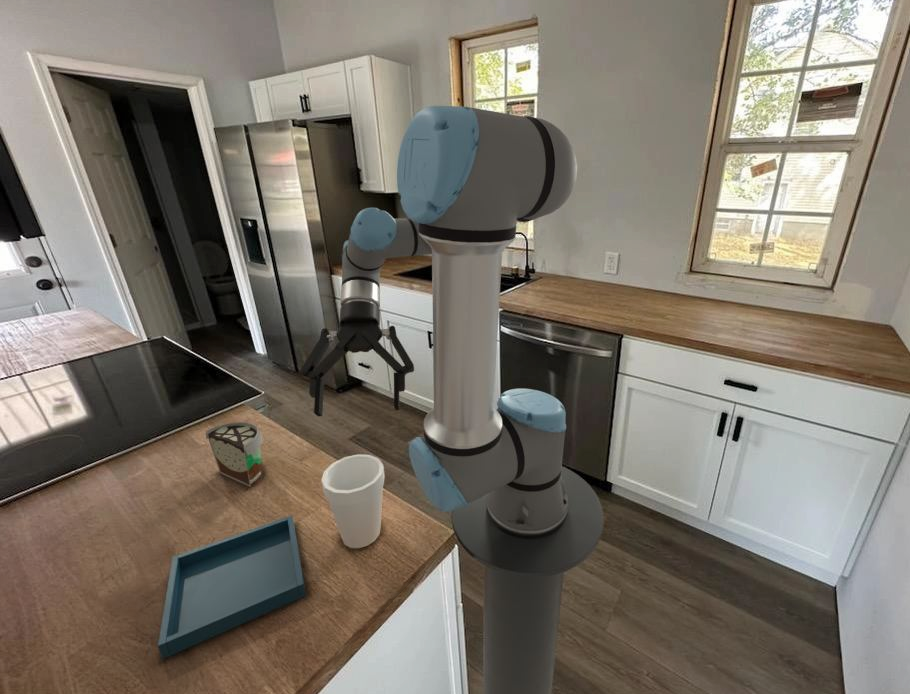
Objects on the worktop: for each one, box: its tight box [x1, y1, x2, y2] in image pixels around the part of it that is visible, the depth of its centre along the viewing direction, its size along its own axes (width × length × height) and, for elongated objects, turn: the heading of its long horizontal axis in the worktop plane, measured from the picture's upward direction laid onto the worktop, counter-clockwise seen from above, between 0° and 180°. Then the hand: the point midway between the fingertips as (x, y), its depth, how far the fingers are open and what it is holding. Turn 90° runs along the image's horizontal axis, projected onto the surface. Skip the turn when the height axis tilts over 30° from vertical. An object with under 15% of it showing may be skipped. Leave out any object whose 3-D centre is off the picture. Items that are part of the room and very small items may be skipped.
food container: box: [205, 421, 264, 488], centre depth 83 cm, size 12×6×10 cm, turn 66°
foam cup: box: [320, 453, 386, 549], centre depth 69 cm, size 10×9×13 cm
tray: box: [157, 514, 307, 660], centre depth 62 cm, size 17×15×2 cm
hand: (358, 411), depth 75 cm, fingers open, 13 cm apart
